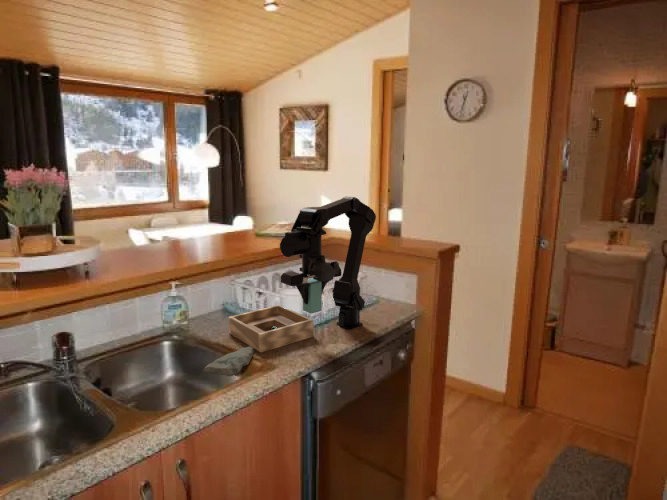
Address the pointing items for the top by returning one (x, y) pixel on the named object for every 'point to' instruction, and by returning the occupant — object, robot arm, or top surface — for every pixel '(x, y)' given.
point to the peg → (314, 297)
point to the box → (259, 321)
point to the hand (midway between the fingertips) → (312, 302)
